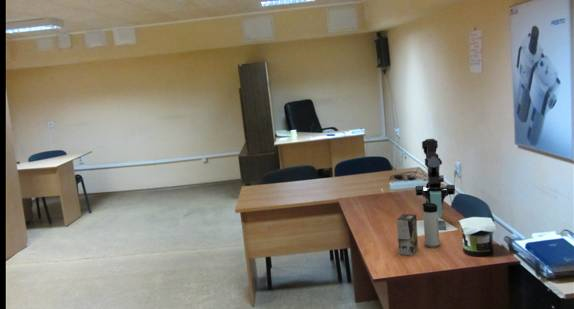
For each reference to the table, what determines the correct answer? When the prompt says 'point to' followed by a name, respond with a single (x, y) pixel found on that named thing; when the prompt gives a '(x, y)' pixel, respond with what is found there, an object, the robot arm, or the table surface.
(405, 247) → the coffee box
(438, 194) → the teal pillar block
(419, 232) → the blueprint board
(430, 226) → the travel mug
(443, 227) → the snap base
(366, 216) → the table surface
